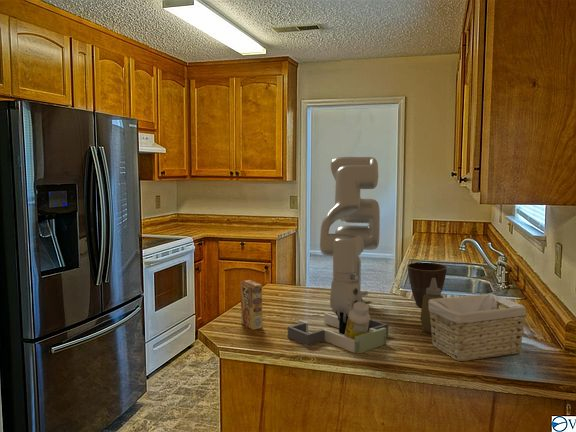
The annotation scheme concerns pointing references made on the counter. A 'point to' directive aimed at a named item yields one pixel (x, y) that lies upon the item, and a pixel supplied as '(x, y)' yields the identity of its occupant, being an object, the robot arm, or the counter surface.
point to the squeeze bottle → (431, 294)
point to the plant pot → (425, 278)
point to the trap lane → (360, 344)
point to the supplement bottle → (357, 320)
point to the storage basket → (476, 326)
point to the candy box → (251, 304)
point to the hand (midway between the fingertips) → (344, 333)
